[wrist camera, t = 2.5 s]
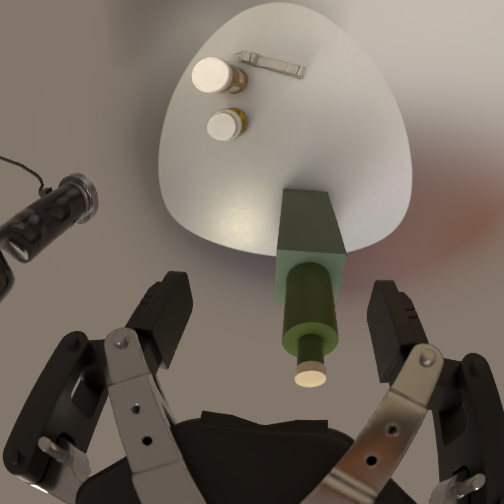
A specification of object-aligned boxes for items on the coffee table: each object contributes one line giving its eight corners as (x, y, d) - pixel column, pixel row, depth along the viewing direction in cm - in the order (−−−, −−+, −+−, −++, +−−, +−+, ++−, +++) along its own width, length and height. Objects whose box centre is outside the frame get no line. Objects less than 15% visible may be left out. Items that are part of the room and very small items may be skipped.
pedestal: (281, 228, 50) (273, 303, 33) (283, 188, 46) (276, 249, 29) (322, 231, 49) (335, 307, 32) (327, 192, 45) (347, 254, 28)
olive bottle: (284, 296, 32) (276, 392, 21) (287, 260, 30) (281, 359, 19) (326, 299, 32) (334, 395, 21) (333, 263, 29) (349, 362, 18)
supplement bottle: (252, 131, 42) (243, 138, 35) (224, 139, 43) (210, 148, 36) (243, 104, 40) (232, 105, 32) (215, 113, 41) (199, 116, 34)
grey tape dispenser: (300, 78, 36) (237, 61, 36) (302, 71, 36) (240, 54, 35) (301, 76, 31) (230, 57, 31) (304, 67, 31) (233, 48, 30)
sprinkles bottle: (251, 71, 37) (234, 60, 25) (242, 97, 39) (222, 97, 28) (223, 64, 36) (196, 53, 25) (215, 90, 39) (185, 88, 27)
